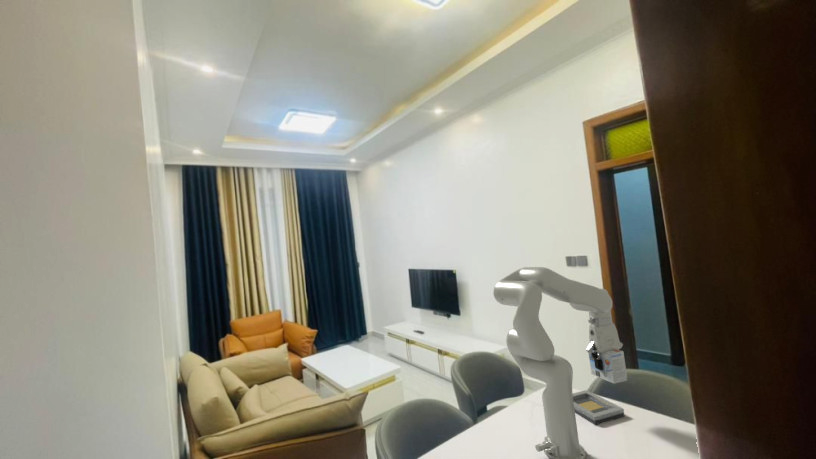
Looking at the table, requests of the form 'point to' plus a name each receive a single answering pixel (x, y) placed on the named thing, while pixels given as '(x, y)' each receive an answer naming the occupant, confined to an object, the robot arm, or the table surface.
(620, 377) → the light bulb box
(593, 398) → the gray rectangular frame
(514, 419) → the table surface
